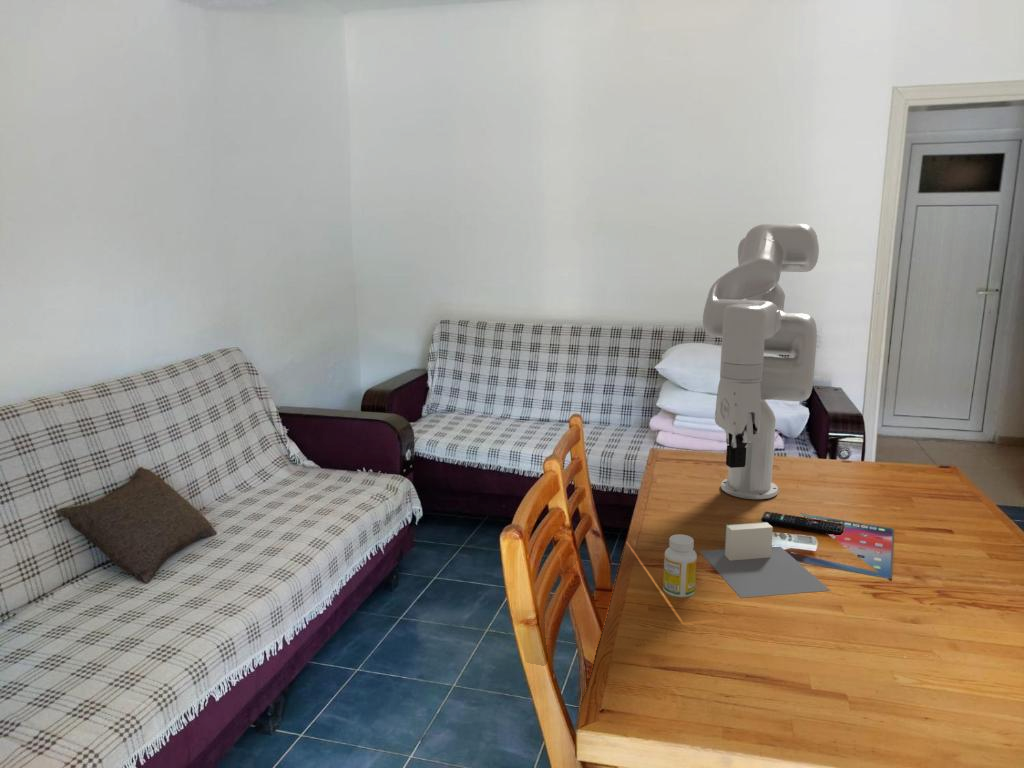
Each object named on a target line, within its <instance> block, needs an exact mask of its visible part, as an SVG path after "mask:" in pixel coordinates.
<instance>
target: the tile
mask: <svg viewBox="0 0 1024 768" xmlns="http://www.w3.org/2000/svg"><path fill="white" fill-rule="evenodd" d="M773 531H774V527H773V526H772V525H771V524H770V523H769V522H767V521H762V522H751V523H750V522H749V523H748V522H746V523H733V524H725V535H724V536H725V537H724V549H725V552H724V555H725V556H726V557H727V558H728V559H729V560H743V559H756V558H769V557H771V547H772V546H773V544H772V543H773Z"/></svg>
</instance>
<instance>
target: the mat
mask: <svg viewBox="0 0 1024 768" xmlns="http://www.w3.org/2000/svg"><path fill="white" fill-rule="evenodd" d="M786 551H787V550H785V549H784V548H783V547H782V546H780V547H771V557H769V558H756V559H743V560H729V559H728V558H727V557H726V556H725V555H724V552H725V548H723V549H709V550H708V549H707V550H699V553H700V554H701V555H702V556H703V557H704V559H705V560H706V561H707V562H708V563H709V564H710V565H711V567H712V568H713V569H714V570H715V571H716V572H717V573H718V574H719V575H720V576H721V578H723V580H724V581H725V582H726V583H727V585H728V586H730V588H731V589H732V590H733V591H734V592H735V593H736V595H737V596H738V597H739V599H746V598H758V597H770V596H782V595H783V596H785V595H792V594H794V595H795V594H806V593H815V592H816V593H818V592H830V591H831V589H830V588H829V587H827V585H825V584H824V583H823V582H822V581H821V580H819V579H818V578H817V577H816V576H814V575H813V573H812V572H810V571H809V570H808V569H806V568H805V567H804V566H803V565H802V563H801V562H797V561H796V560H795V559H794V558H793V557H792V556H791V555H789V554H788V553H787V552H786Z"/></svg>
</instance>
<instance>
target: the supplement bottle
mask: <svg viewBox="0 0 1024 768" xmlns="http://www.w3.org/2000/svg"><path fill="white" fill-rule="evenodd" d="M668 540H669V541H668V544H669V547H668V548H666V549H665V551H664V557H663V558H664V559H663V560H664V562H663V579H662V580H663V582H662V589H663V591H664V592H665V594H668V595H669V596H671V597H677V598H687V597H690V596H693V595H694V594H695V592H696V581H697V580H696V578H697V563H698V562H697V559H698V554H697V551H695V549H694V546H695V545H694V543H695V541H694V538H693V537H691V536H690V535H688V534H687V535H686V534H683V533H682V534H673V535H671V536H670V537H669V538H668Z"/></svg>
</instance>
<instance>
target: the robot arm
mask: <svg viewBox="0 0 1024 768" xmlns="http://www.w3.org/2000/svg"><path fill="white" fill-rule="evenodd" d="M816 233H817V232H816V231H815V229H814V228H813V227H812V226H810V225H808V224H805V223H763V224H759V225H756V226H754V227H752V228H751V229H750V230H749V231H748V232H747V233H746V235H745V237H743V238H742V239H740V242H739V243H738V247H737V260H738V261H737V262H738V266H736V267H734V268H732V269H731V270H729V271H727V272H726V273H724V274H723V275H721V276H720V277H719V278H718V279H717V280H715V282H714V283H713V284H712V286H711V287H710V289H709V291H708V294H707V297H706V301H705V305H704V308H703V313H702V325H703V326H702V327H703V330H704V332H705V333H706V334H707V335H709V336H710V337H712V338H719V339H720V338H721V351H720V353H721V354H720V366H719V367H720V369H719V370H720V371H719V383H718V387H717V391H716V392H717V394H716V401H715V402H716V403H715V410H714V411H715V412H714V422H715V424H716V425H717V426H718V427H719V428H721V429H722V430H724V432H725V443H726V456H725V465H726V466H727V468H726V469H727V470H728V478H725V479H723V480H722V481H721V483H720V488H721V490H722V491H723V492H725V493H726V494H728V495H730V496H733V497H736V498H739V499H746V500H766V499H771V498H774V497H776V496H777V495H778V493H779V487H778V486H777V484H776V483H774V482H772V480H773V479H772V478H773V465H774V453H775V452H774V451H775V438H776V437H775V436H776V422H777V420H776V419H777V418H776V416H775V413H774V411H773V410H772V408H771V407H770V405H769V404H768V402H767V401H768V400H769V401H770V400H771V401H772V400H773V401H782V402H783V401H786V402H804V401H807V400H808V399H809V398H810V396H811V394H812V391H813V386H814V378H815V364H816V356H817V355H816V354H817V353H816V352H817V342H818V341H817V340H818V337H817V336H818V334H817V332H818V329H817V323H816V320H815V319H814V318H813V317H812V316H811V315H810V314H808V313H802V312H800V313H799V312H786V311H785V300H786V295H785V292H784V290H783V288H782V287H781V285H780V284H779V281H780V277H781V273H782V272H783V273H785V272H786V273H789V272H790V273H807V272H810V271H812V270H813V269H814V268H815V267H816V265H817V263H818V259H819V255H820V254H819V253H820V247H819V240H818V235H817V234H816ZM764 354H767V355H768V356H767V355H764ZM769 355H784V356H790V357H781V356H780V357H779V356H769ZM766 400H767V401H766Z"/></svg>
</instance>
